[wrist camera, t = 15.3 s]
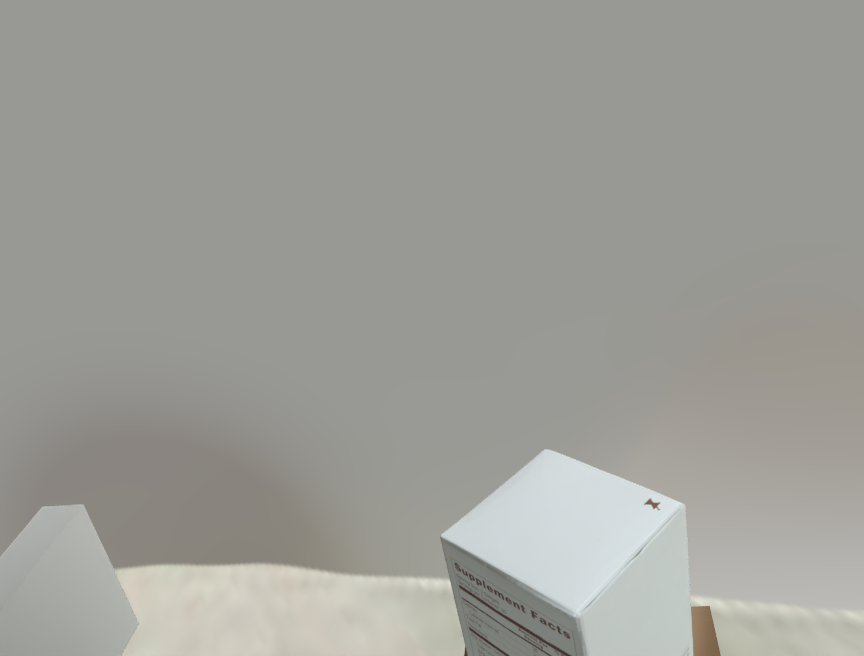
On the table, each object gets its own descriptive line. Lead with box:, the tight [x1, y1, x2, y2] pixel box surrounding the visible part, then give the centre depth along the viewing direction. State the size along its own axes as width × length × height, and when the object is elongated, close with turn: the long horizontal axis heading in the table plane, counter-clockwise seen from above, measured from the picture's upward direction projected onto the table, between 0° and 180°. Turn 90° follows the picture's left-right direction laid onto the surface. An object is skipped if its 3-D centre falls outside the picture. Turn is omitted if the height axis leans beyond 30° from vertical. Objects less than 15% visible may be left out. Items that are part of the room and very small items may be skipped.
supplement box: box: [440, 449, 693, 656], centre depth 35 cm, size 7×7×13 cm
